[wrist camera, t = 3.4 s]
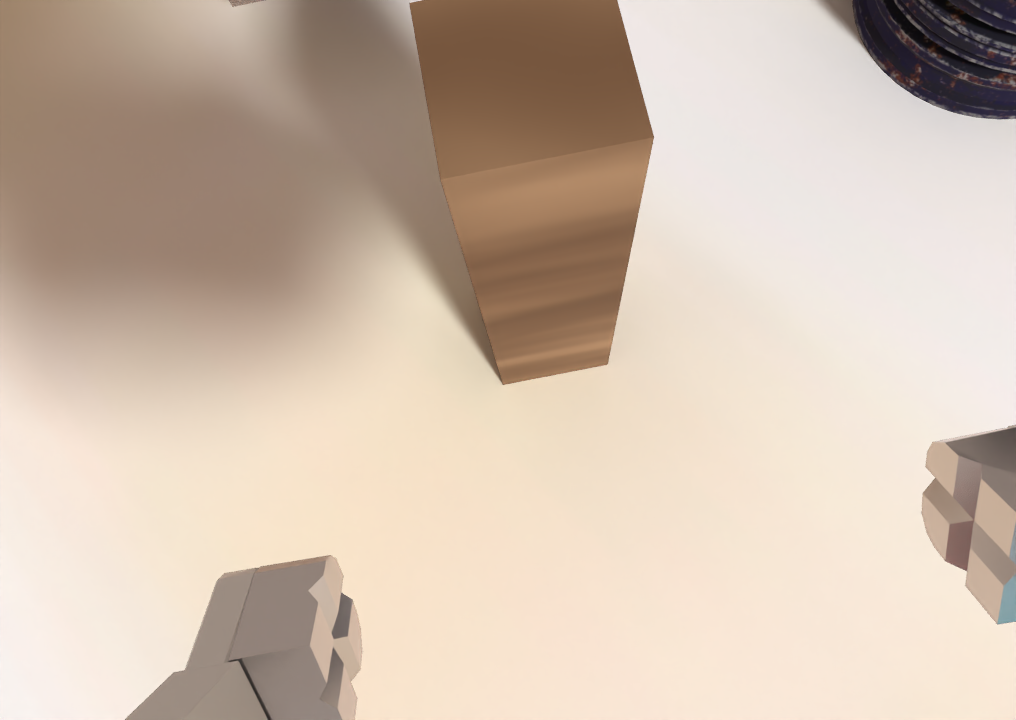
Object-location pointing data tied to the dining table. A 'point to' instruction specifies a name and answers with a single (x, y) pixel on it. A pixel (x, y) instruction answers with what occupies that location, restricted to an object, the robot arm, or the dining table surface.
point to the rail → (538, 168)
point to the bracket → (242, 2)
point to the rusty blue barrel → (946, 51)
